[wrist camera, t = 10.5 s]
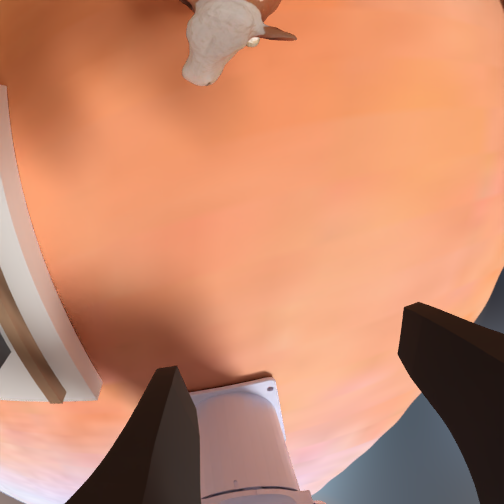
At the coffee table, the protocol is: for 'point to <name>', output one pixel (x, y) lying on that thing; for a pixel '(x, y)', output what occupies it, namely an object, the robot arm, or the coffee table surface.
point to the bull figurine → (225, 34)
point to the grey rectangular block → (3, 351)
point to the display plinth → (33, 303)
